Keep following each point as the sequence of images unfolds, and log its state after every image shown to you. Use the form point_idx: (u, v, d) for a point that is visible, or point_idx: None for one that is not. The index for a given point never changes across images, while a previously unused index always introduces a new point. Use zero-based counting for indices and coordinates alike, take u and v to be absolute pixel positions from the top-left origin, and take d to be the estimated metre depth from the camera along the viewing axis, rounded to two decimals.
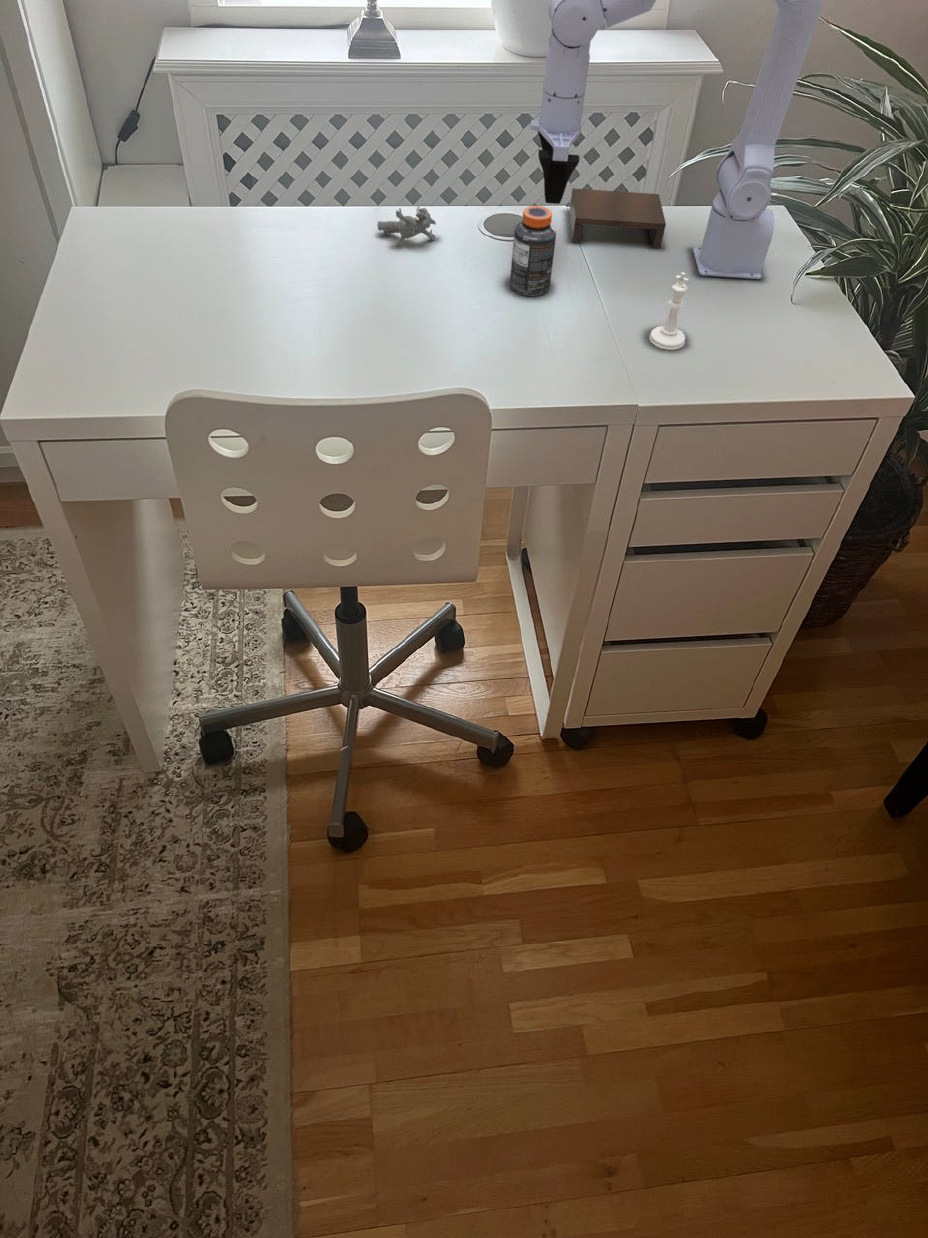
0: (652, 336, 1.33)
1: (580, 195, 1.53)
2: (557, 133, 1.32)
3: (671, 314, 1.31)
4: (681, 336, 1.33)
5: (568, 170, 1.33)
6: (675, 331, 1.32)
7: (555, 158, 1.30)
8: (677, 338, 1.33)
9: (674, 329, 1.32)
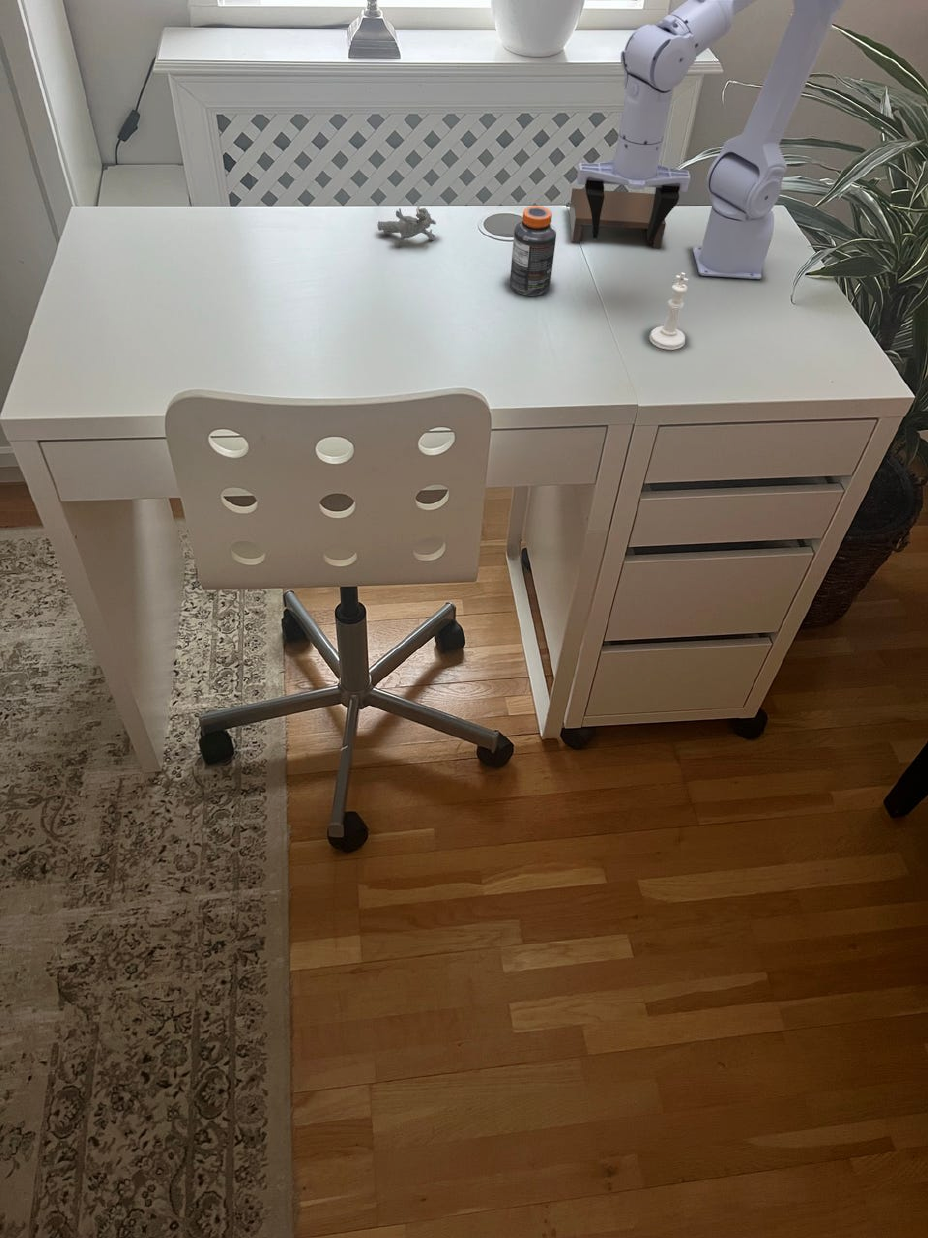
0: (652, 336, 1.33)
1: (580, 195, 1.53)
2: (657, 173, 1.26)
3: (671, 314, 1.31)
4: (681, 336, 1.33)
5: None
6: (675, 331, 1.32)
7: (687, 188, 1.27)
8: (677, 338, 1.33)
9: (674, 329, 1.32)
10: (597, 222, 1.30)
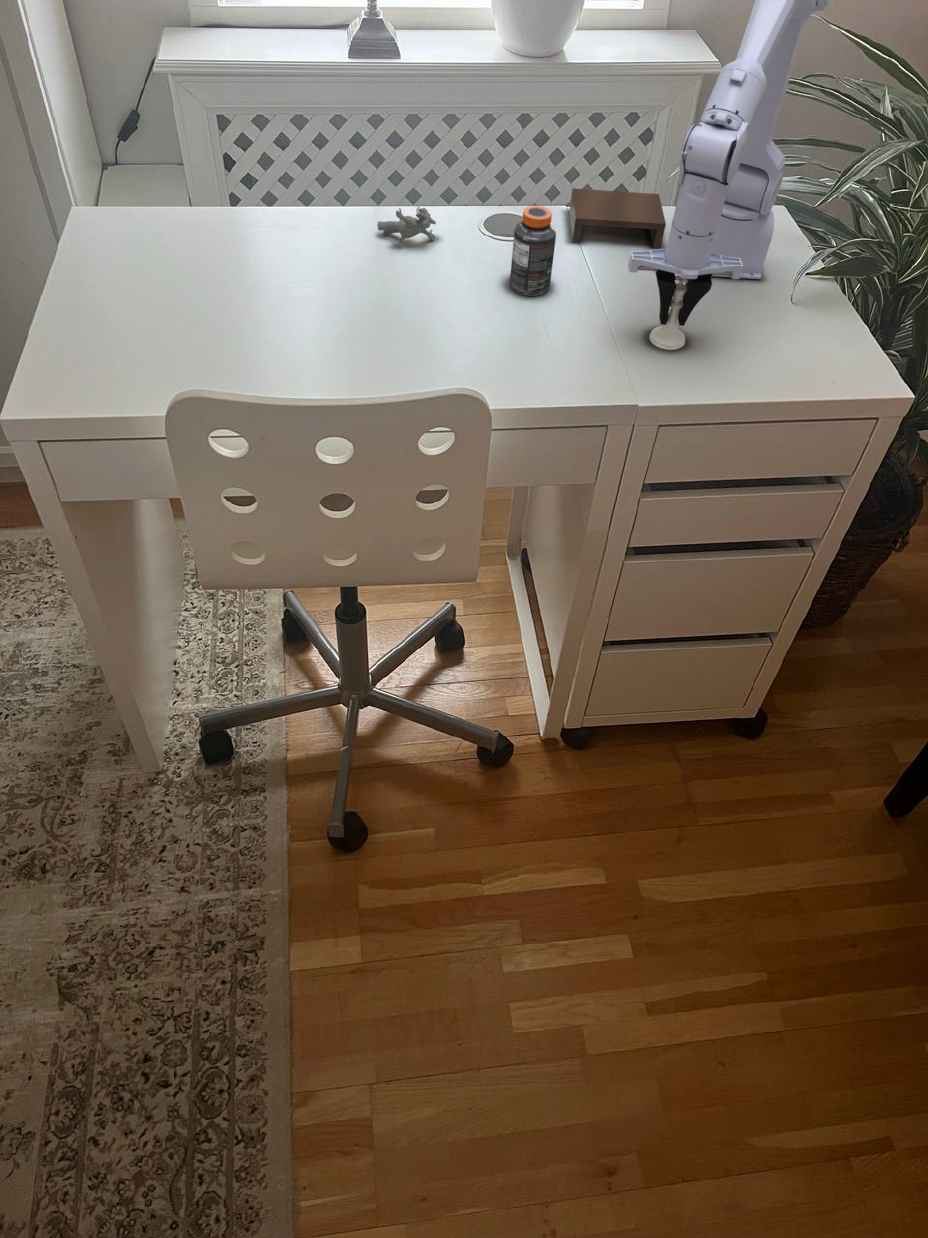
0: (652, 336, 1.33)
1: (580, 195, 1.53)
2: (709, 262, 1.25)
3: (671, 314, 1.31)
4: (681, 336, 1.33)
5: None
6: (675, 331, 1.32)
7: (739, 276, 1.26)
8: (677, 338, 1.33)
9: (674, 329, 1.32)
10: (667, 309, 1.29)
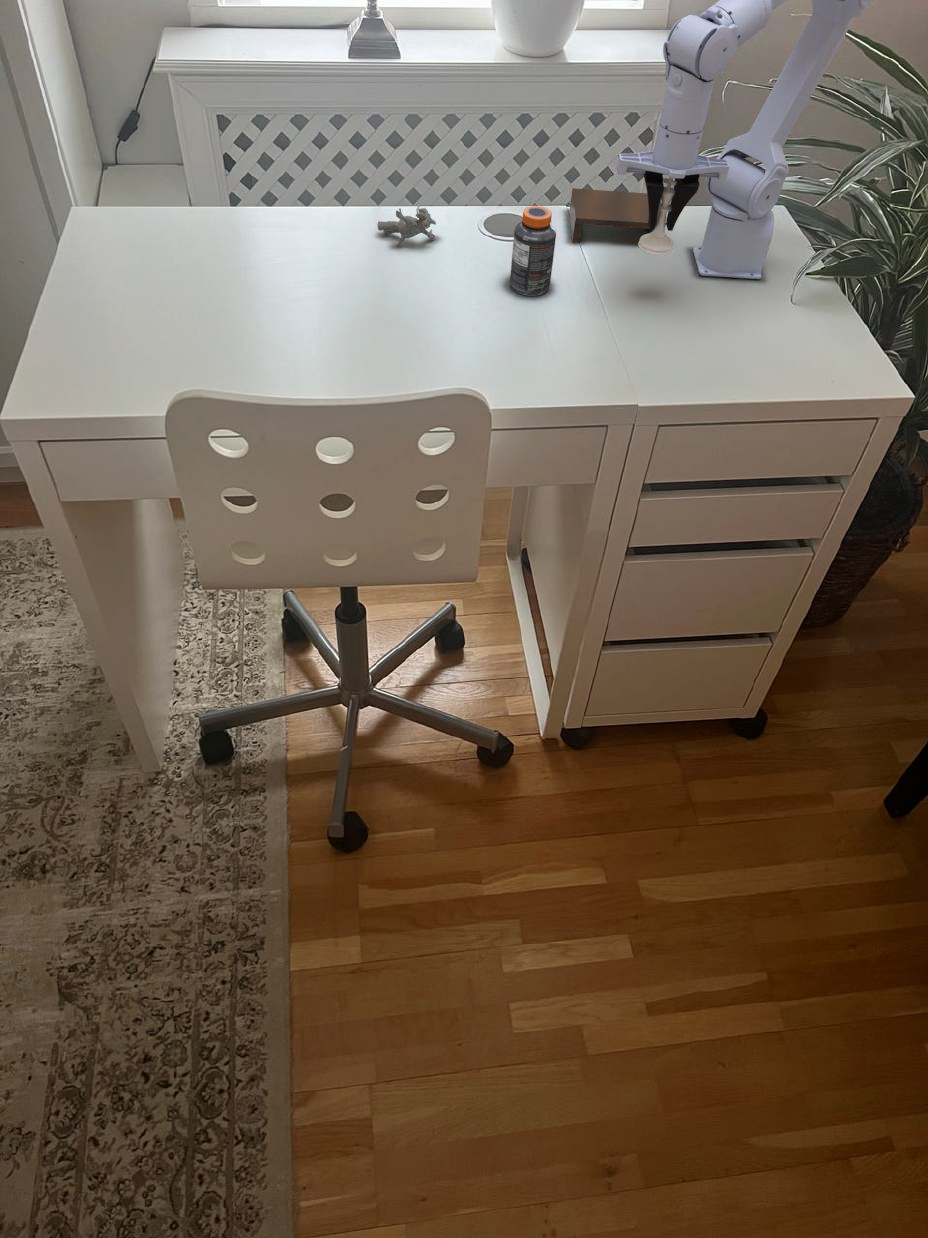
0: (641, 242, 1.35)
1: (580, 195, 1.53)
2: (696, 163, 1.27)
3: (659, 219, 1.33)
4: (669, 242, 1.35)
5: None
6: (664, 236, 1.35)
7: None
8: (665, 243, 1.35)
9: (663, 234, 1.34)
10: (655, 213, 1.31)
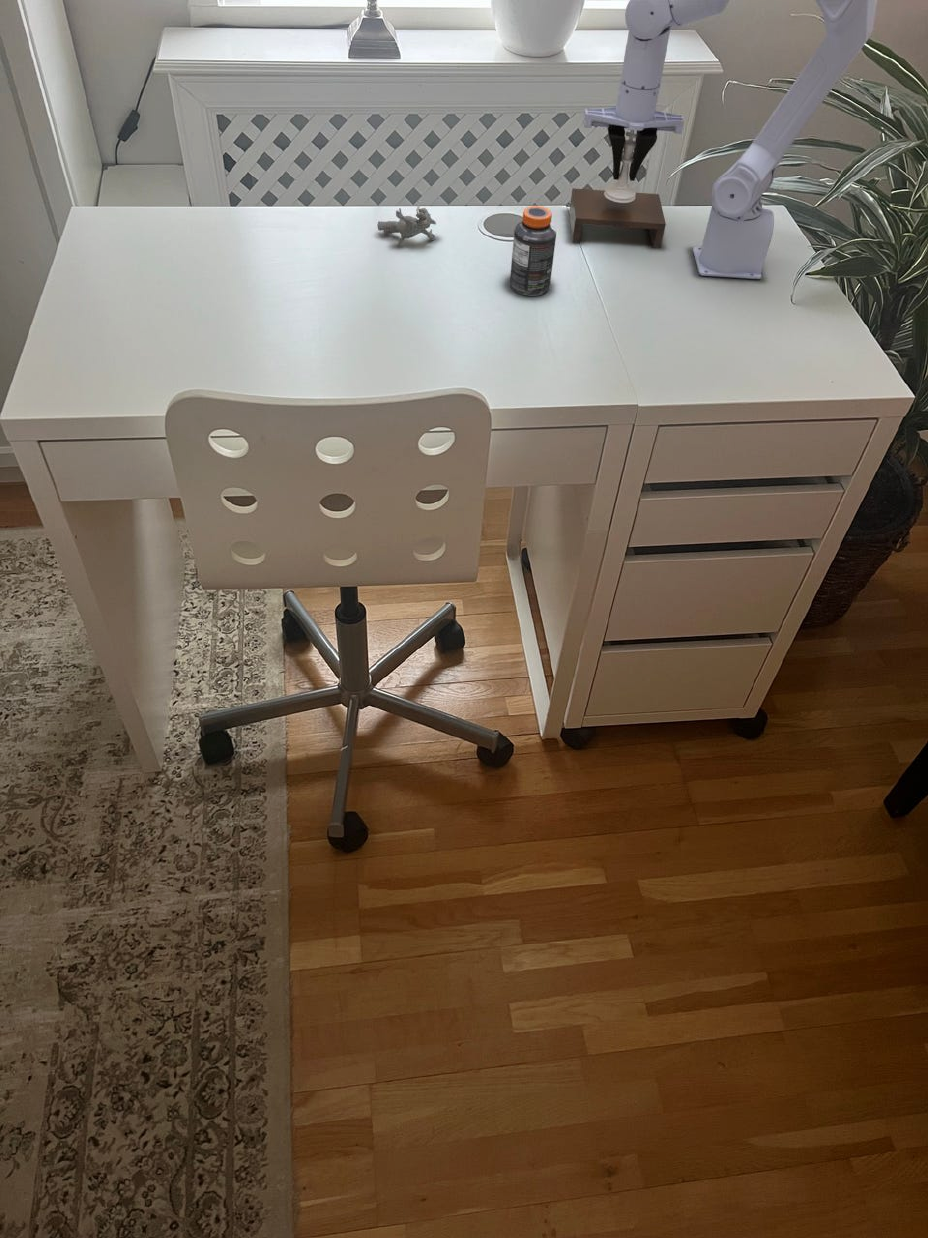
0: (606, 191, 1.49)
1: (580, 195, 1.53)
2: (655, 117, 1.41)
3: (622, 169, 1.47)
4: (632, 191, 1.49)
5: None
6: (626, 186, 1.49)
7: (681, 131, 1.42)
8: (628, 192, 1.49)
9: (625, 184, 1.48)
10: (618, 163, 1.45)
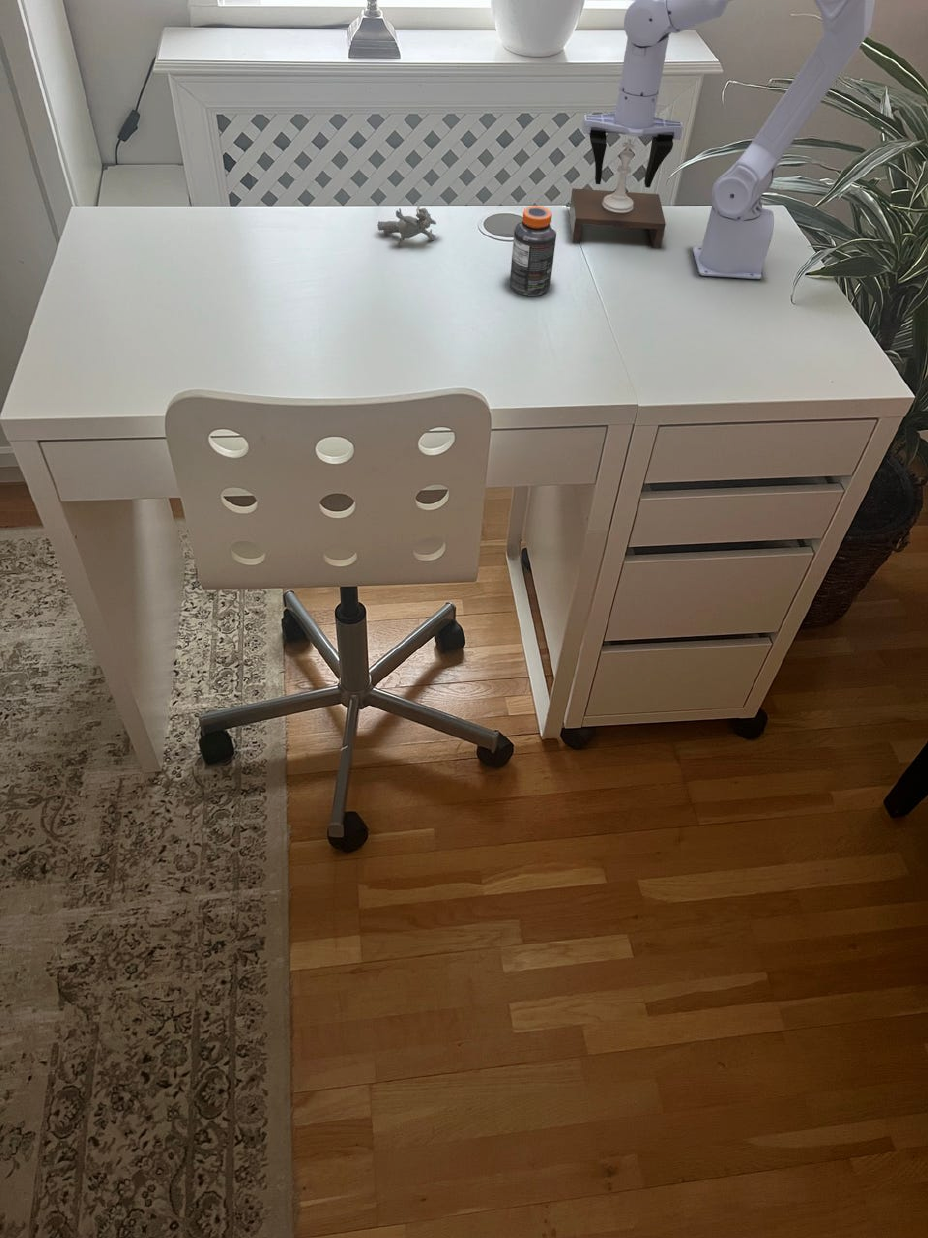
0: (604, 201, 1.51)
1: (580, 195, 1.53)
2: (653, 123, 1.42)
3: (620, 180, 1.48)
4: (630, 201, 1.50)
5: None
6: (624, 196, 1.50)
7: None
8: (626, 202, 1.50)
9: (623, 194, 1.50)
10: (600, 168, 1.46)
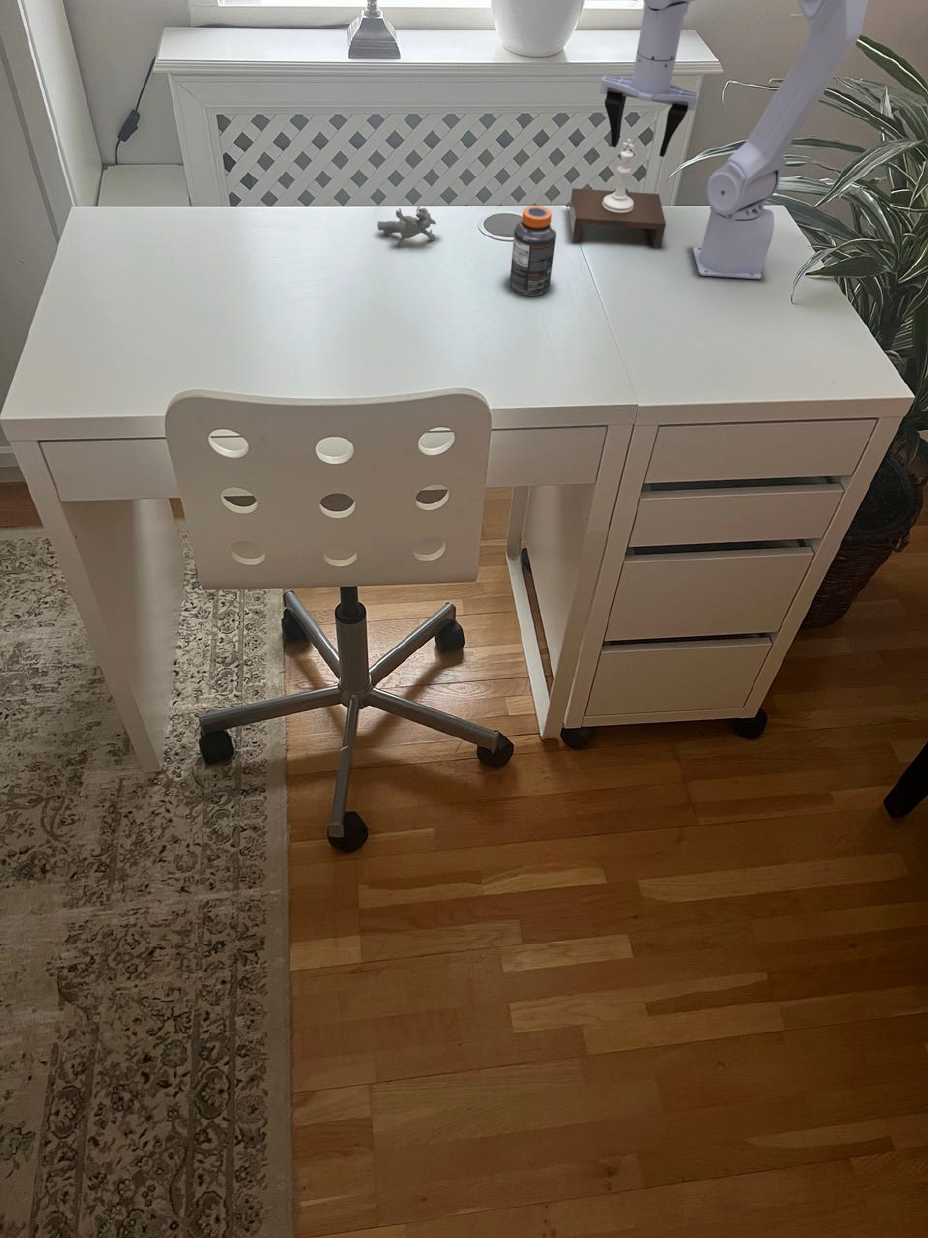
0: (604, 201, 1.51)
1: (580, 195, 1.53)
2: (669, 91, 1.43)
3: (620, 180, 1.48)
4: (630, 201, 1.50)
5: None
6: (624, 196, 1.50)
7: None
8: (626, 202, 1.50)
9: (623, 194, 1.50)
10: (614, 130, 1.48)
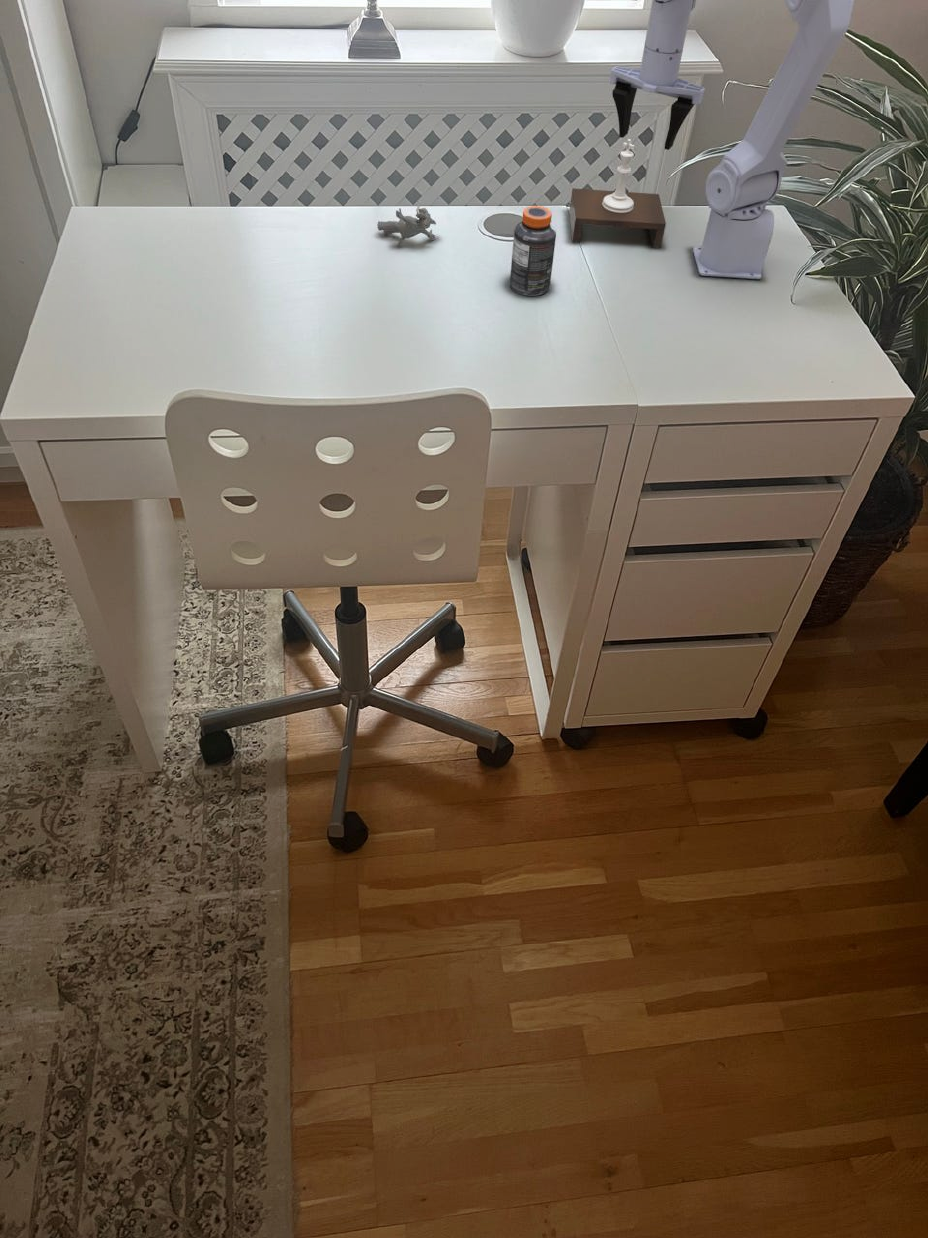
0: (604, 201, 1.51)
1: (580, 195, 1.53)
2: (675, 84, 1.45)
3: (620, 180, 1.48)
4: (630, 201, 1.50)
5: (689, 110, 1.48)
6: (624, 196, 1.50)
7: (699, 102, 1.45)
8: (626, 202, 1.50)
9: (623, 194, 1.50)
10: (622, 121, 1.51)
